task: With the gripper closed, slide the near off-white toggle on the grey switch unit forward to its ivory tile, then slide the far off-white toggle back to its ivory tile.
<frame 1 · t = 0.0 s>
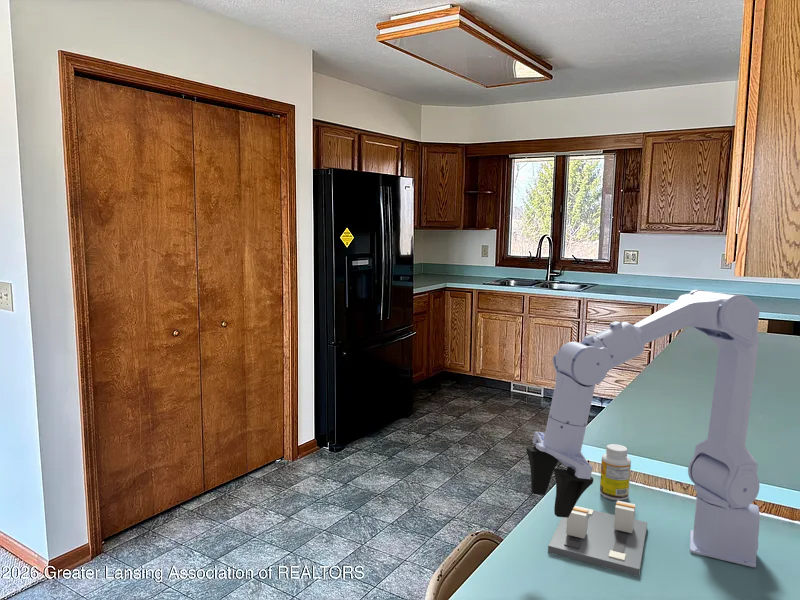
hand: (549, 504, 90), 11 cm above the countertop, tool pointing down, fingers open, 7 cm apart
toggle A: (624, 516, 101), point 4 cm above the countertop, slide at -3.0 cm
supplement bottle: (613, 496, 118), on the countertop
toggle B: (577, 520, 99), point 4 cm above the countertop, slide at 3.0 cm
switch unit: (599, 540, 100), on the countertop
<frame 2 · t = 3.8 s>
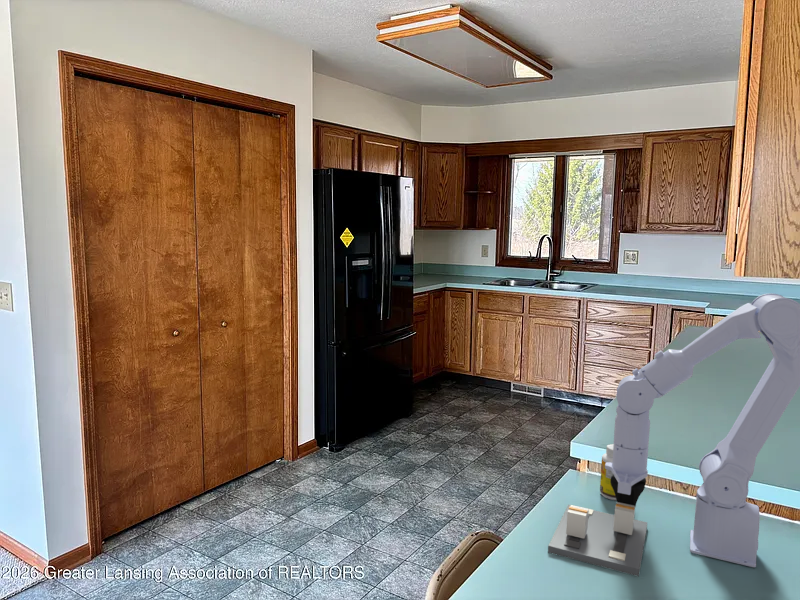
hand: (625, 517, 104), 2 cm above the countertop, tool pointing down, fingers closed
toggle A: (624, 517, 101), point 4 cm above the countertop, slide at -2.3 cm, touching gripper
everything else where it was.
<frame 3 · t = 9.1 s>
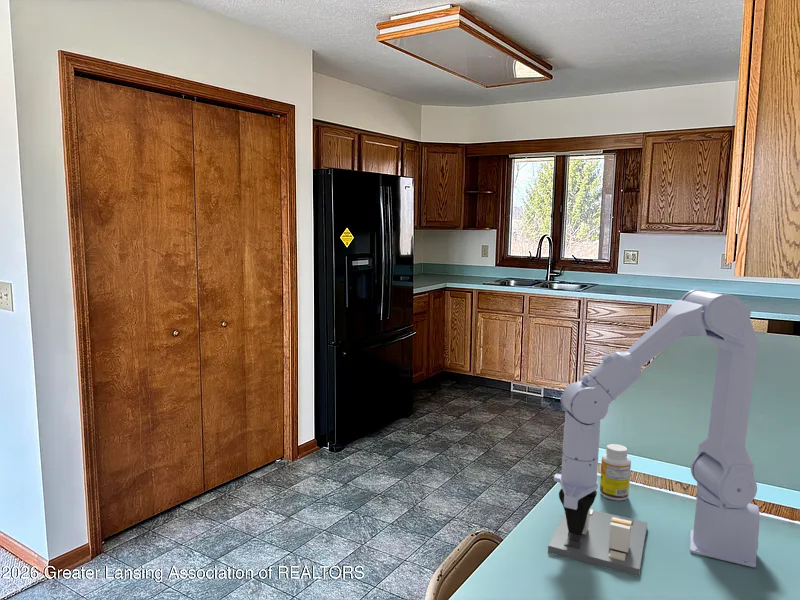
hand: (575, 532, 98), 2 cm above the countertop, tool pointing down, fingers closed
toggle A: (620, 533, 95), point 4 cm above the countertop, slide at 4.0 cm
toggle B: (579, 517, 100), point 4 cm above the countertop, slide at 1.5 cm, touching gripper
everything else where it was.
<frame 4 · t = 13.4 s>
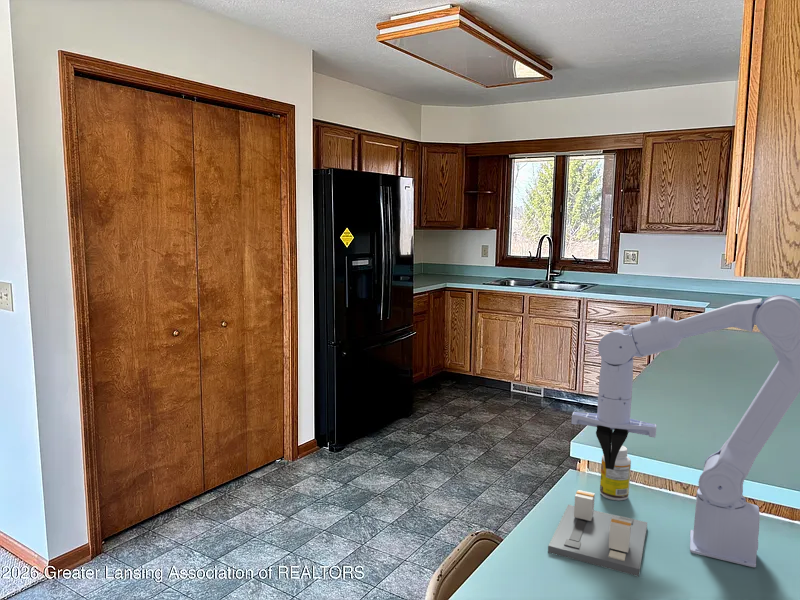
hand: (610, 467, 107), 10 cm above the countertop, tool pointing down, fingers closed
toggle B: (584, 504, 105), point 4 cm above the countertop, slide at -4.0 cm
everything else where it was.
at the end: toggle A slide at 4.0 cm; toggle B slide at -4.0 cm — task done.
